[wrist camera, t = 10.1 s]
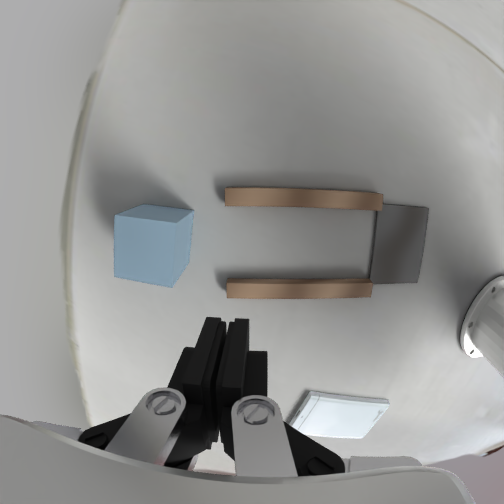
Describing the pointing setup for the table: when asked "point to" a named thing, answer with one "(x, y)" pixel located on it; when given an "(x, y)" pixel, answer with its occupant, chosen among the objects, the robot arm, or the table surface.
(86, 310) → the table surface
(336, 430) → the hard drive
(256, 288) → the guide channel
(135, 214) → the block
